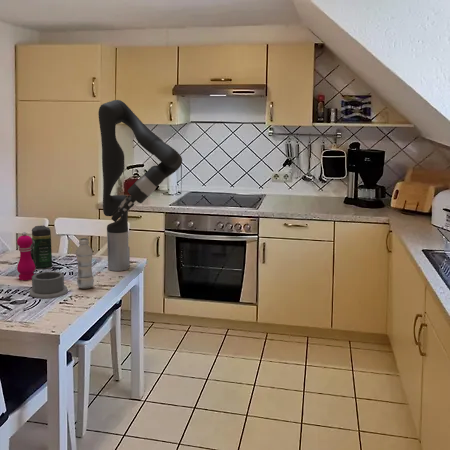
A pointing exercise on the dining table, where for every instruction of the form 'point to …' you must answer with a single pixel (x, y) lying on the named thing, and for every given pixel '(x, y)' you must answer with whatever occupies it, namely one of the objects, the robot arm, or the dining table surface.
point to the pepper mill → (25, 258)
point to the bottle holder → (48, 285)
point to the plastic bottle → (84, 264)
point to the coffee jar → (42, 247)
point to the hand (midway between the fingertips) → (113, 218)
